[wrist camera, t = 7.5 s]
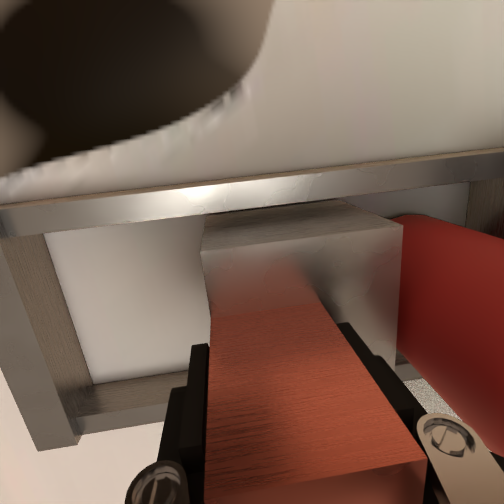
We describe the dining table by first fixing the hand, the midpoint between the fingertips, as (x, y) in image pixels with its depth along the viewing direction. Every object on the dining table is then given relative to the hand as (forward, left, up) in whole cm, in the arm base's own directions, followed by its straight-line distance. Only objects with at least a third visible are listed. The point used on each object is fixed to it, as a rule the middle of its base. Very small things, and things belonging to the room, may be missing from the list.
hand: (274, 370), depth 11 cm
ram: (-1, 0, -7) cm, 7 cm away
